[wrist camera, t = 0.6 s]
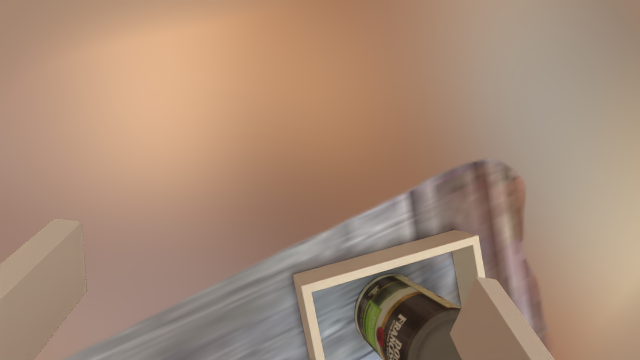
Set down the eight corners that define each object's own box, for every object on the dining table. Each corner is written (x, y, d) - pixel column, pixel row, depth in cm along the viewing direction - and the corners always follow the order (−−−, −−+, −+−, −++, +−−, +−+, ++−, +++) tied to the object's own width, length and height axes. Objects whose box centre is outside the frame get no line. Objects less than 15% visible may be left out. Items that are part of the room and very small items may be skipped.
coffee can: (351, 351, 49) (403, 419, 35) (357, 273, 49) (411, 310, 35) (420, 347, 51) (493, 409, 38) (425, 273, 51) (500, 308, 38)
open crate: (479, 375, 54) (504, 394, 49) (325, 437, 48) (337, 467, 43) (454, 229, 52) (478, 235, 48) (292, 274, 46) (301, 286, 41)
